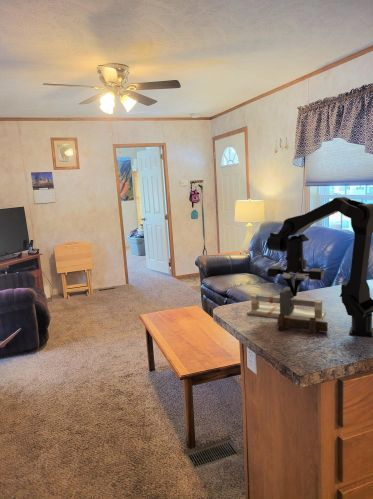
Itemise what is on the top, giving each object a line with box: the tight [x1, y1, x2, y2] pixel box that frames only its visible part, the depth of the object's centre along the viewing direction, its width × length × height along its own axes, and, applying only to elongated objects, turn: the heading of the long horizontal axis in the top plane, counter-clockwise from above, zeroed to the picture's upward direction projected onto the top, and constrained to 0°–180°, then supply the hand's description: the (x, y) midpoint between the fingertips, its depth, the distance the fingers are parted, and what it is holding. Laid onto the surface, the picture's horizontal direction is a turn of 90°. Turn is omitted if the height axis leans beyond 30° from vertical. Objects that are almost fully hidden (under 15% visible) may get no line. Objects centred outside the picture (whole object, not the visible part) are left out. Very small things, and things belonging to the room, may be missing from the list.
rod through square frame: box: [246, 293, 327, 322], centre depth 137 cm, size 10×26×6 cm, turn 60°
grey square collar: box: [279, 286, 295, 315], centre depth 136 cm, size 8×3×8 cm, turn 150°
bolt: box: [277, 314, 329, 334], centre depth 121 cm, size 6×5×15 cm
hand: (295, 296), depth 135 cm, fingers closed
